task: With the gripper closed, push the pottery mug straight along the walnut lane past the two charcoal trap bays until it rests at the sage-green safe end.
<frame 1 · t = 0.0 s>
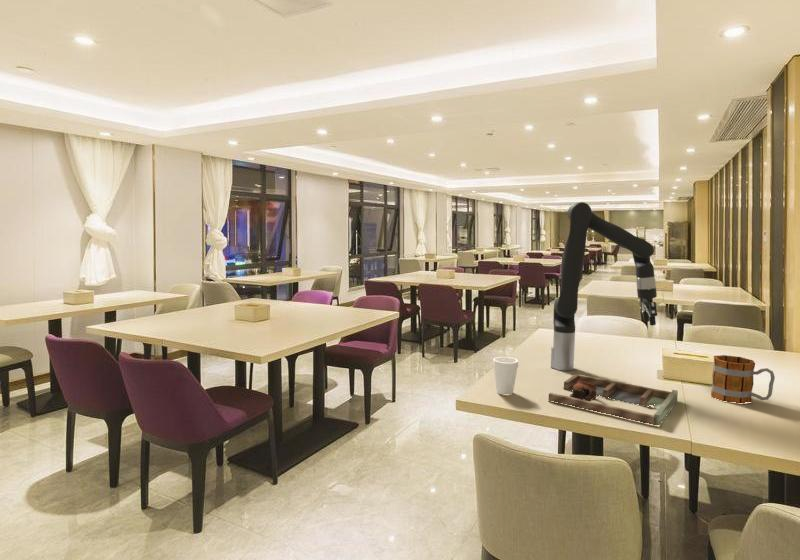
hand: (649, 323, 215), 22 cm above the table, tool pointing down, fingers open, 8 cm apart
trap box: (611, 401, 181), on the table
mug: (740, 401, 182), on the table
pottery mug: (584, 401, 181), resting in trap box
foam cup: (504, 393, 189), on the table
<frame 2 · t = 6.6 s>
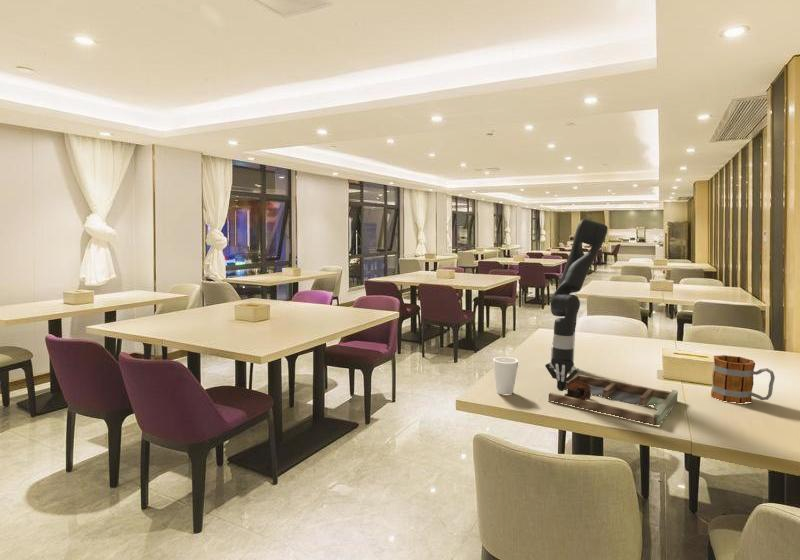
hand: (561, 390, 186), 2 cm above the table, tool pointing down, fingers closed
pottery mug: (578, 401, 181), resting in trap box, touching gripper
everything else where it was.
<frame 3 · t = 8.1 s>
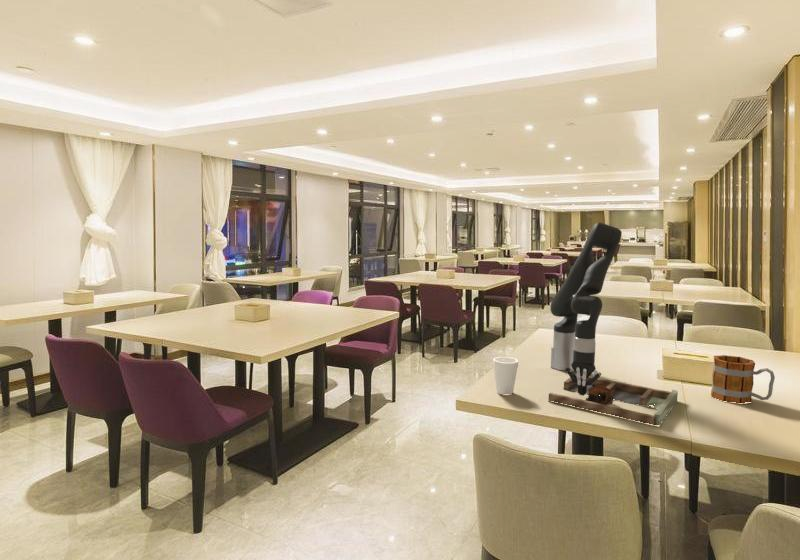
hand: (581, 394, 181), 2 cm above the table, tool pointing down, fingers closed
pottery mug: (600, 406, 176), resting in trap box, touching gripper
everything else where it was.
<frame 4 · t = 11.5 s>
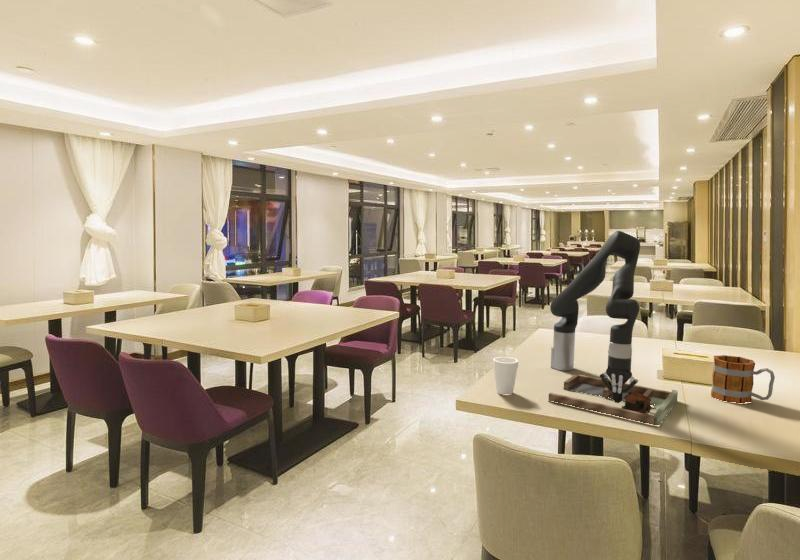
hand: (617, 402, 174), 2 cm above the table, tool pointing down, fingers closed
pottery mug: (637, 414, 169), resting in trap box, touching gripper
everything else where it was.
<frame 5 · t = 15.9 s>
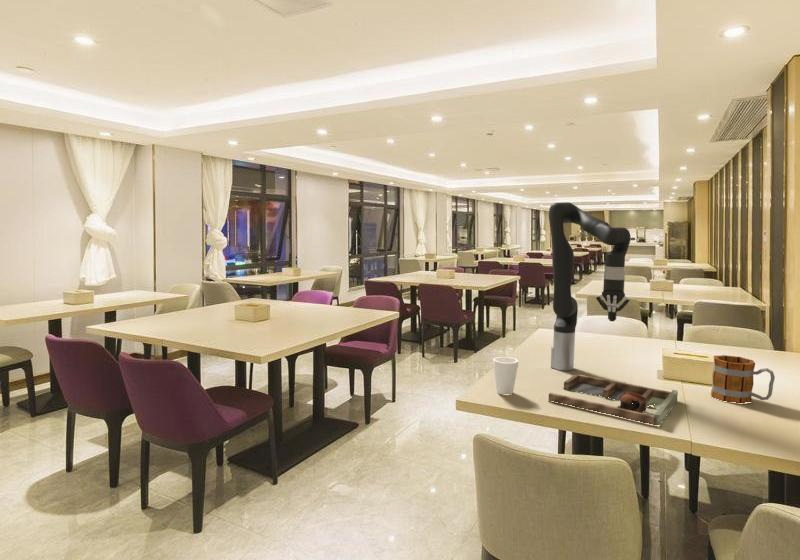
hand: (611, 320, 195), 27 cm above the table, tool pointing down, fingers closed
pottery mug: (632, 414, 169), resting in trap box
everything else where it was.
at the end: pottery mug inside the target area (2.9 cm from its centre), resting in trap box; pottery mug tilted 1° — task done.
